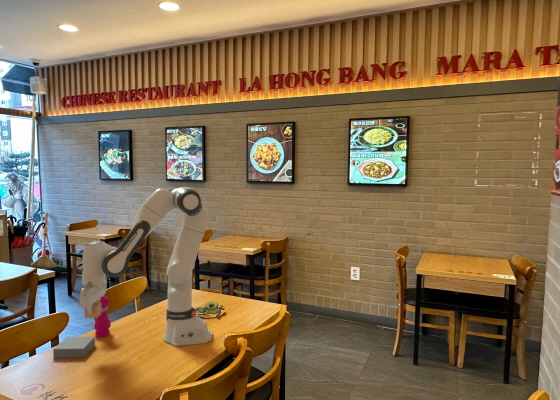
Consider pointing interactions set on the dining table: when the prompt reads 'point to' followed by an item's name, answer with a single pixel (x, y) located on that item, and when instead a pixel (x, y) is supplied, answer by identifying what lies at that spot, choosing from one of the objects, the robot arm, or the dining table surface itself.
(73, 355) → the grey square slab
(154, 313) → the dining table surface
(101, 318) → the pepper mill
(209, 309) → the salad plate
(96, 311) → the terracotta block
